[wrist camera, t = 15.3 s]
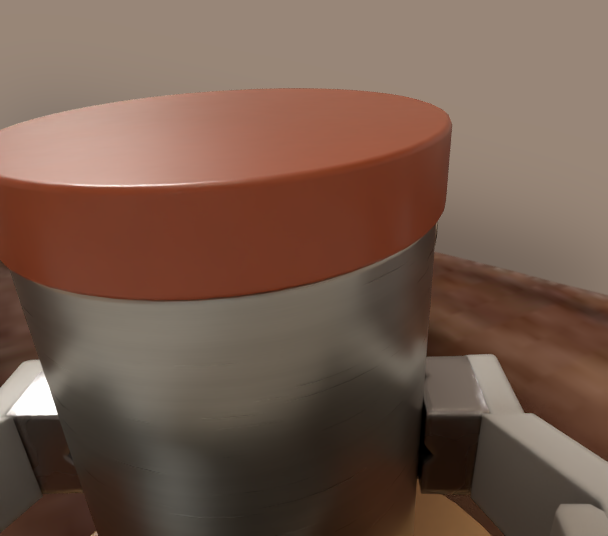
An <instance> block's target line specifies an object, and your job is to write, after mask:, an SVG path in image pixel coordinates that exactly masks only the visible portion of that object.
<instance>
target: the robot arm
mask: <svg viewBox="0 0 608 536" xmlns="http://www.w3.org/2000/svg"><path fill="white" fill-rule="evenodd" d="M418 481H419V486H420V491H421V494H451V495H471V497H470V498H471V499H472V500H473V501H474V502H475V503H476V504H477V505H478V506H479V507H480V508H481V510H482V511H483V512H484V513H485V514H486V515H487V516H488V517H489V518H490V519H491V521H492V522H493V523H494V524H495V525H496V526H497V527H498V528H499V529H500V530H501V531H502V533H503V534H504V535H505V536H608V462H607V461H605V460H603V459H602V458H600V457H599V456H597V455H596V454H594V453H593V452H591V451H590V450H588V449H587V448H585V447H584V446H582V445H581V444H579V443H577V442H576V441H574V440H573V439H571V438H570V437H568V436H567V435H565V434H564V433H562V432H561V431H559V430H558V429H556V428H554V427H553V426H551V425H550V424H548V423H547V422H545V421H544V420H542V419H541V418H539V417H538V416H536V415H535V414H533V413H524V411H523V409H522V407H521V405H520V403H519V401H518V399H517V397H516V395H515V393H514V391H513V389H512V387H511V385H510V383H509V381H508V379H507V377H506V375H505V373H504V371H503V369H502V367H501V365H500V363H499V361H498V359H497V357H496V356H494V355H493V354H480V355H465V356H438V357H426V368H425V382H424V395H423V409H422V422H421V435H420V449H419V462H418ZM56 493H84V492H83V489H82V486H81V483H80V480H79V477H78V474H77V471H76V468H75V465H74V462H73V459H72V456H71V453H70V450H69V447H68V444H67V441H66V438H65V435H64V432H63V429H62V426H61V423H60V420H59V417H58V414H57V411H56V408H55V405H54V402H53V399H52V396H51V393H50V390H49V387H48V384H47V381H46V378H45V375H44V372H43V369H42V366H41V363H40V360H29V361H26V362H23V363H22V364H21V365H20V366H19V367H18V368H17V370H16V371H15V372H14V373H13V374H12V375H11V376H10V377H9V379H8V380H7V381H6V382H5V383H4V384H3V385H2V387H1V388H0V533H1V532H2V531H3V530H4V529H6V528H7V527H8V526H9V525H10V524H11V523H12V522H14V521H15V520H16V519H17V518H18V517H19V516H21V515H22V514H23V513H24V512H25V511H26V510H27V509H29V508H30V507H31V506H32V505H33V504H34V503H36V502H37V501H38V500H39V499H40V498H41V497H42V496H43V495H42V494H56Z"/></svg>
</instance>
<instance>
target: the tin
mask: <svg viewBox="0 0 608 536" xmlns="http://www.w3.org/2000/svg"><path fill="white" fill-rule="evenodd" d="M451 132H452V123H451V120H450V118H449V115H448V114H447V113H446V112H445V111H443V110H442V109H440V108H438V107H436V106H434V105H432V104H429V103H426V102H423V101H420V100H417V99H413V98H409V97H404V96H398V95H392V94H386V93H378V92H368V91H357V90H341V89H310V88H309V89H307V88H283V89H282V88H279V89H248V90H229V91H212V92H198V93H187V94H176V95H167V96H158V97H150V98H142V99H134V100H127V101H120V102H113V103H107V104H101V105H95V106H89V107H84V108H80V109H74V110H69V111H65V112H60V113H56V114H51V115H47V116H44V117H40V118H36V119H32V120H28V121H25V122H22V123H19V124H15V125H13V126H10V127H7V128H4V129H1V130H0V260H1V261H2V262H3V263H4V264H5V265H6V266H7V267H8V268H9V270H10V273H11V276H12V279H13V282H14V285H15V288H16V291H17V294H18V297H19V300H20V303H21V306H22V309H23V312H24V315H25V318H26V321H27V324H28V327H29V330H30V333H31V336H32V339H33V342H34V345H35V348H36V351H37V354H38V357H39V360H40V363H41V366H42V369H43V372H44V375H45V378H46V381H47V384H48V387H49V390H50V393H51V396H52V399H53V402H54V405H55V408H56V411H57V414H58V417H59V420H60V423H61V426H62V429H63V432H64V435H65V438H66V441H67V444H68V447H69V450H70V453H71V456H72V459H73V462H74V465H75V468H76V471H77V474H78V477H79V480H80V483H81V486H82V489H83V492H84V495H85V498H86V501H87V504H88V507H89V510H90V513H91V516H92V519H93V522H94V525H95V528H96V531H97V534H98V536H413V530H414V516H415V503H416V489H417V476H418V462H419V449H420V435H421V422H422V409H423V395H424V382H425V368H426V355H427V341H428V328H429V315H430V301H431V288H432V274H433V261H434V247H435V234H436V223H437V221H438V220H439V218H440V216H441V214H442V213H443V211H444V208H445V202H446V194H447V193H446V192H447V181H448V170H449V157H450V145H451Z"/></svg>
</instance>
